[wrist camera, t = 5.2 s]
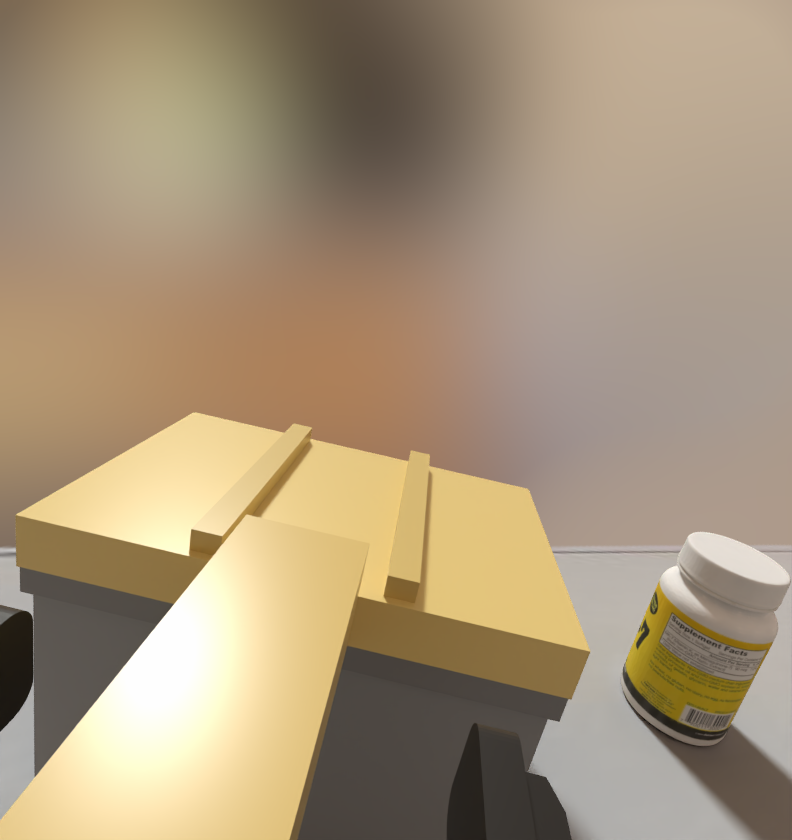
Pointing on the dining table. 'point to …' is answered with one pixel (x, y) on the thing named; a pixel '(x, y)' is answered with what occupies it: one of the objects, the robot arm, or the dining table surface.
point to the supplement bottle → (704, 638)
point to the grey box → (347, 725)
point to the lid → (274, 617)
